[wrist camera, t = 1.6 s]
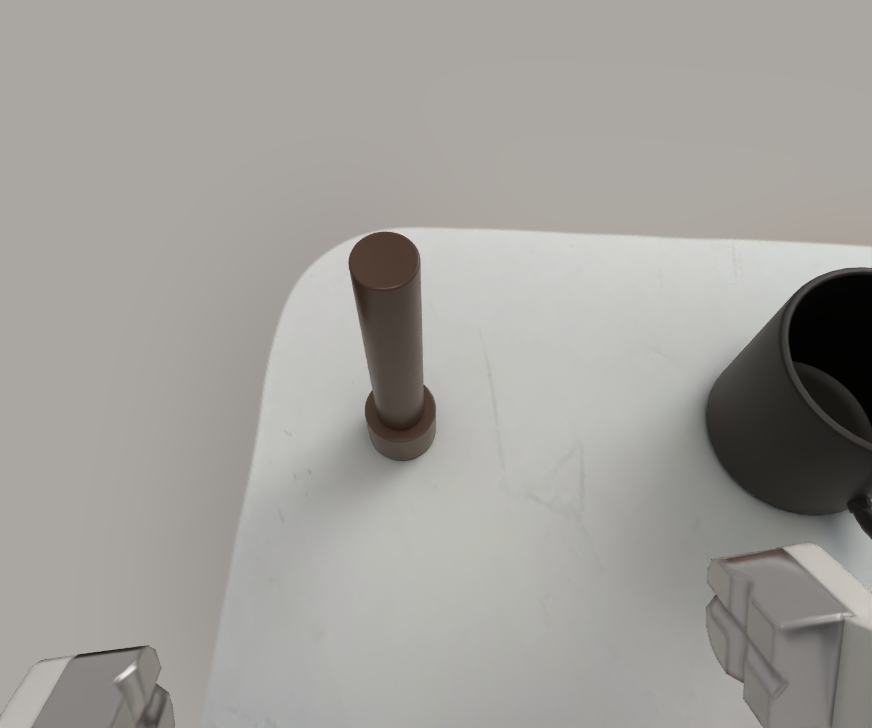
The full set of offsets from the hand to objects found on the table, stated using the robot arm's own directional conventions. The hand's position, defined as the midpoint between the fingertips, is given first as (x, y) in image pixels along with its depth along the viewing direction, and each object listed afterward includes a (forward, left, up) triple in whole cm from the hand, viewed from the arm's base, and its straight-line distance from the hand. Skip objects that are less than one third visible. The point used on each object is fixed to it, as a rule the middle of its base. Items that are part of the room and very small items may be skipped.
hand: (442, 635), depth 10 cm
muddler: (+2, +12, -24) cm, 27 cm away
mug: (+22, +4, -24) cm, 33 cm away
